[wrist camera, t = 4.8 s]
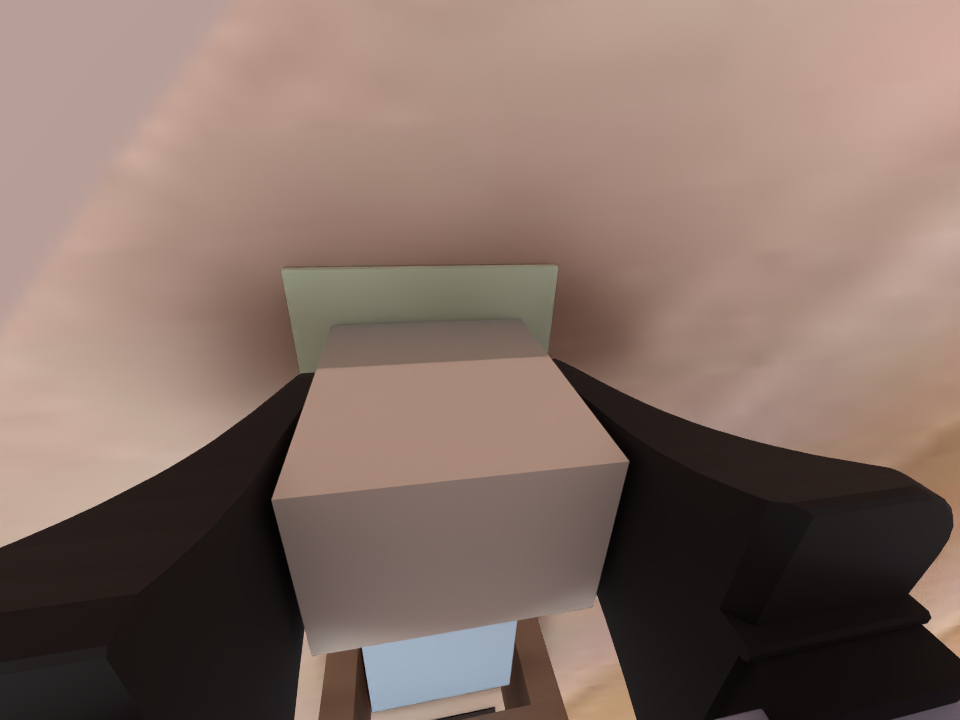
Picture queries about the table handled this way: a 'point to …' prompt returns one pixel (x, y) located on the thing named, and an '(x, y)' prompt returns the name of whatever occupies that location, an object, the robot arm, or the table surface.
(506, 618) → the block
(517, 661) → the tunnel
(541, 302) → the mat
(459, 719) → the pad
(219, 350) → the table surface
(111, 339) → the table surface
